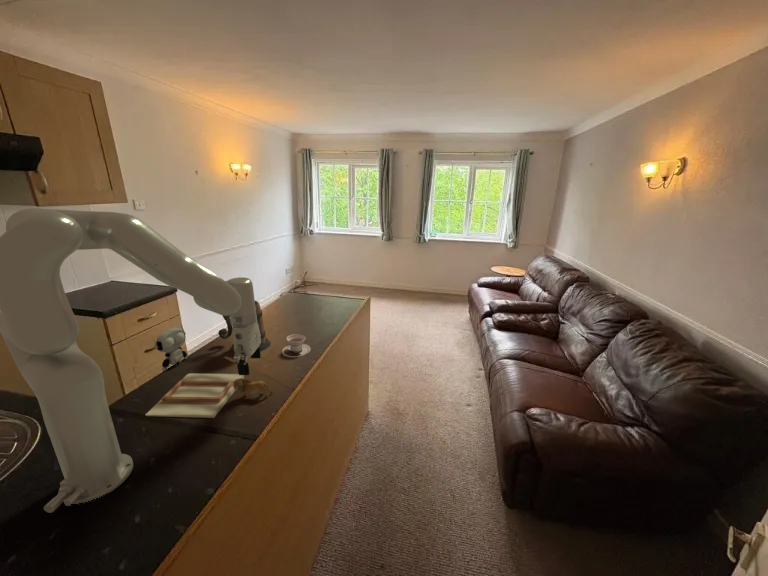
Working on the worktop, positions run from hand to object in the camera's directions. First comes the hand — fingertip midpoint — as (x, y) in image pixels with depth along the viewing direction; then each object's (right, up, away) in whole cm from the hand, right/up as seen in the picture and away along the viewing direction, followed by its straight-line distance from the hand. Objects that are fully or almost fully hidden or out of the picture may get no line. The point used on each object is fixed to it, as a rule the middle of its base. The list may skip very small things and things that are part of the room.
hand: (250, 365), depth 101 cm
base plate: (-18, -11, +2) cm, 21 cm away
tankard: (-18, 0, +37) cm, 41 cm away
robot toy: (-37, -5, +20) cm, 42 cm away
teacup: (+6, -2, +34) cm, 34 cm away
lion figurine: (0, -11, +3) cm, 12 cm away
